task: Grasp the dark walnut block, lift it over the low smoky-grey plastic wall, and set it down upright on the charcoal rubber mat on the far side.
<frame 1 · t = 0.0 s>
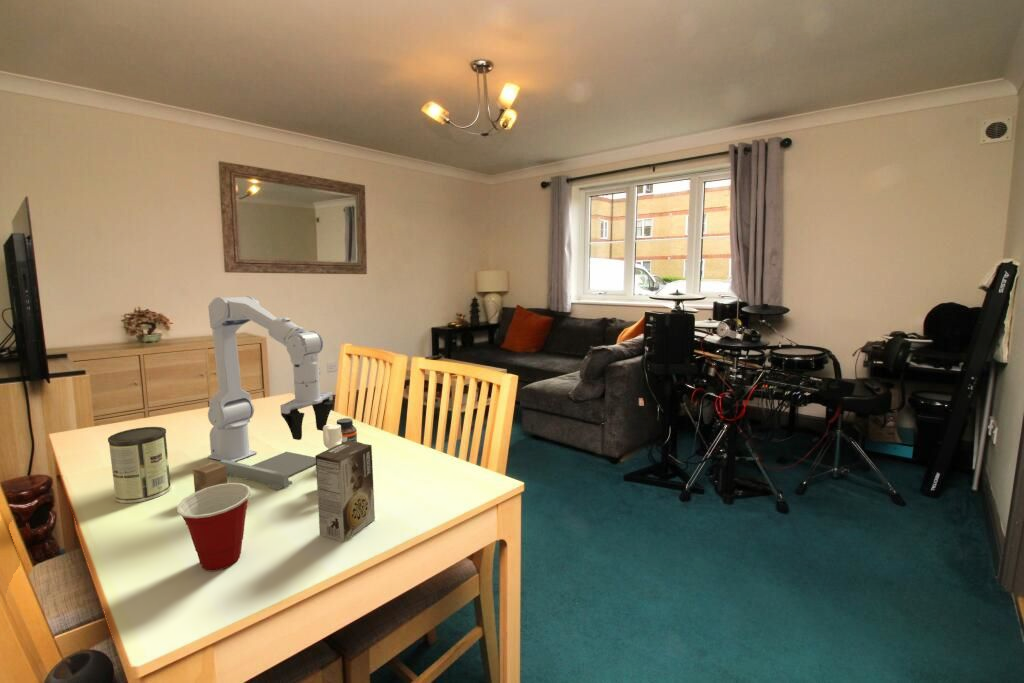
hand: (309, 434, 119), 10 cm above the table, tool pointing down, fingers open, 7 cm apart
low wall: (253, 479, 117), on the table
walnut block: (212, 497, 107), on the table
plastic cup: (220, 563, 83), on the table
coffee box: (347, 528, 95), on the table
supplement bottle: (346, 461, 129), on the table
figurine: (336, 488, 112), on the table
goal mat: (287, 464, 126), on the table
coffee can: (143, 494, 109), on the table
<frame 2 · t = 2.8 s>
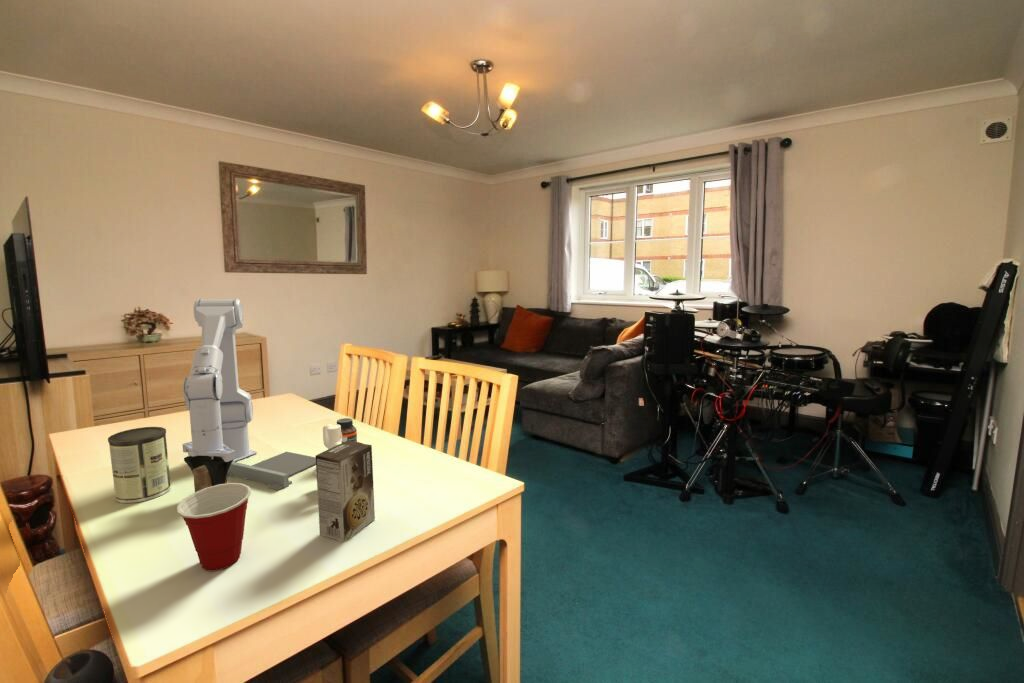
hand: (211, 486, 107), 2 cm above the table, tool pointing down, fingers closed on walnut block, 4 cm apart
walnut block: (212, 497, 107), on the table, touching gripper
everything else where it was.
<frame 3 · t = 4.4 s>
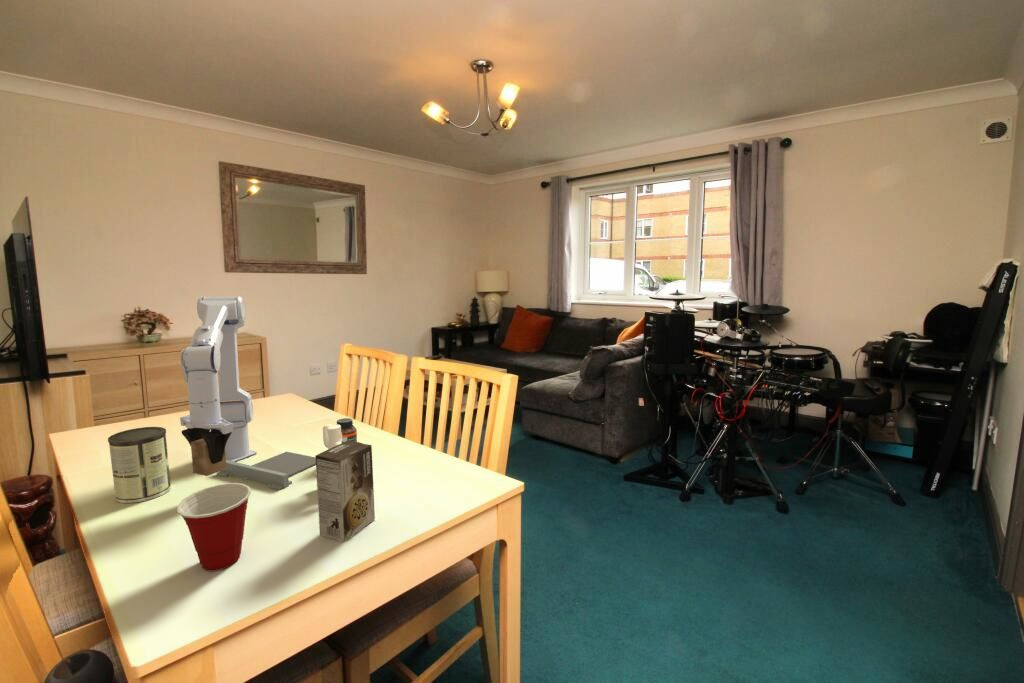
hand: (209, 460, 106), 9 cm above the table, tool pointing down, fingers closed on walnut block, 4 cm apart
walnut block: (210, 470, 107), point 6 cm above the table, touching gripper
everything else where it was.
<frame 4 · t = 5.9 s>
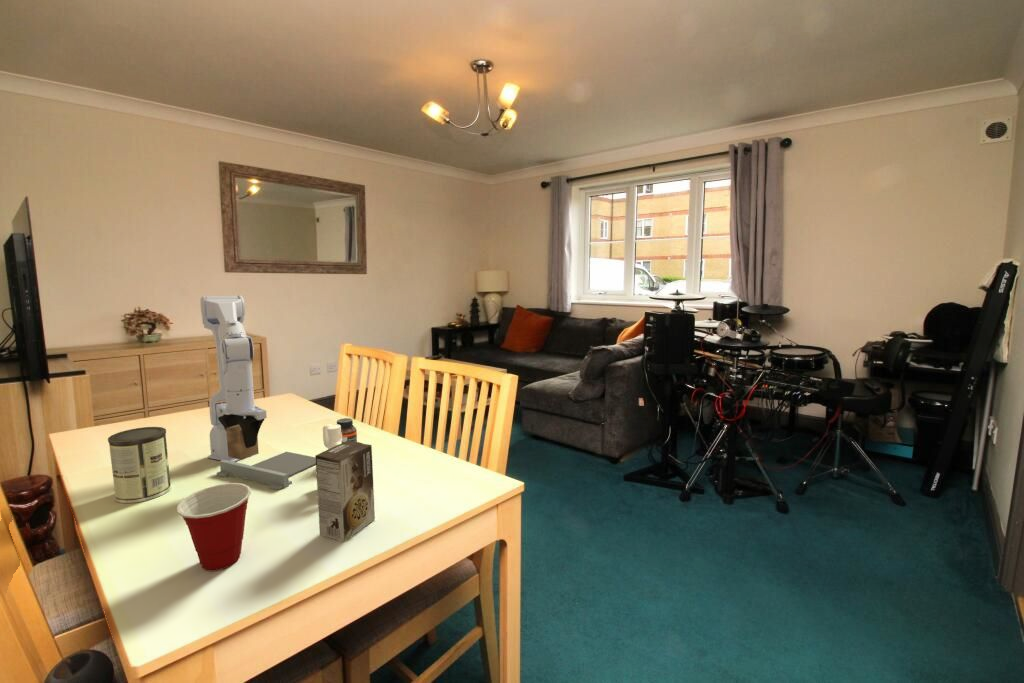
hand: (243, 444, 114), 9 cm above the table, tool pointing down, fingers closed on walnut block, 4 cm apart
walnut block: (243, 455, 114), point 7 cm above the table, touching gripper
everything else where it was.
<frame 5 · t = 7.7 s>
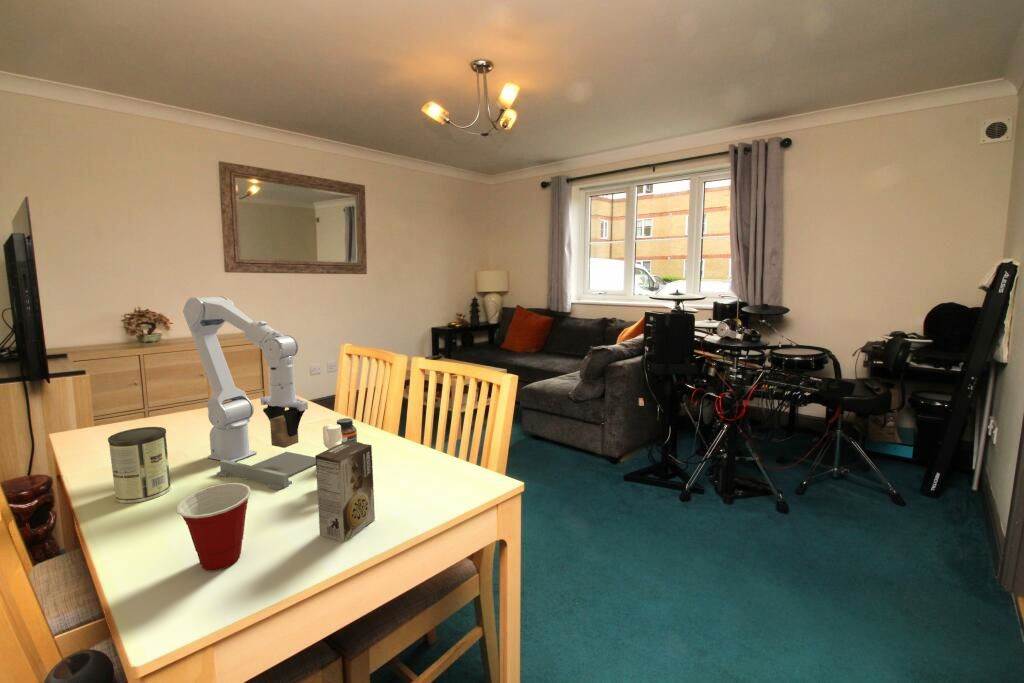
hand: (285, 434, 125), 8 cm above the table, tool pointing down, fingers closed on walnut block, 4 cm apart
walnut block: (285, 443, 125), point 6 cm above the table, touching gripper
everything else where it was.
when the fingers open (4 cm above the table, at t = 9.4 s): walnut block drops 1 cm, resting on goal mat.
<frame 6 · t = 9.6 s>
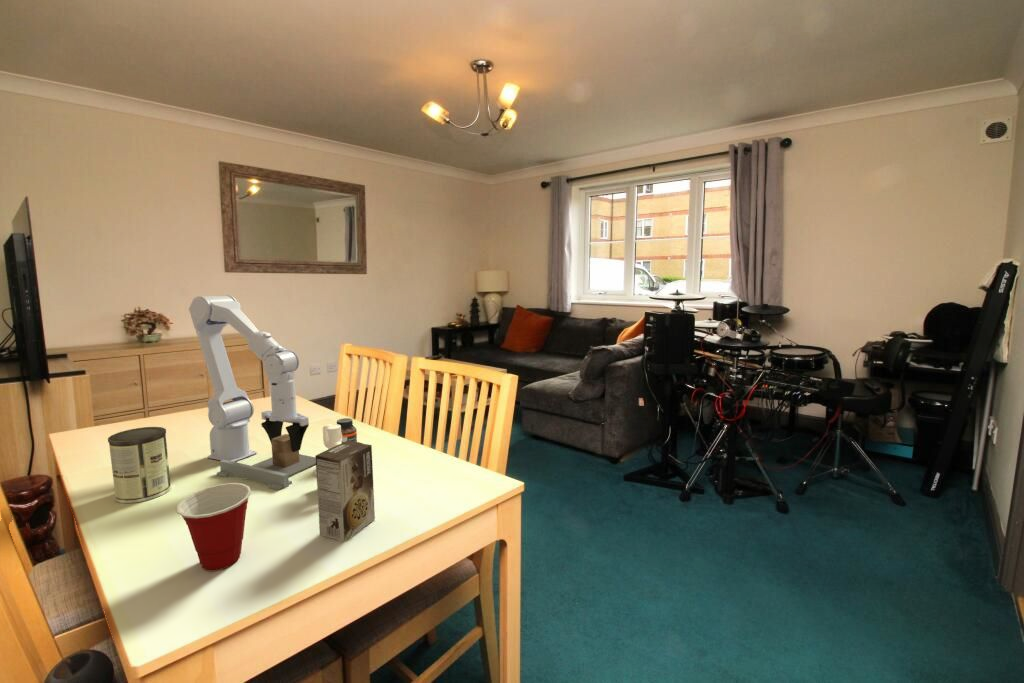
hand: (286, 448, 125), 4 cm above the table, tool pointing down, fingers open, 6 cm apart
walnut block: (286, 463, 126), resting on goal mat
everything else where it was.
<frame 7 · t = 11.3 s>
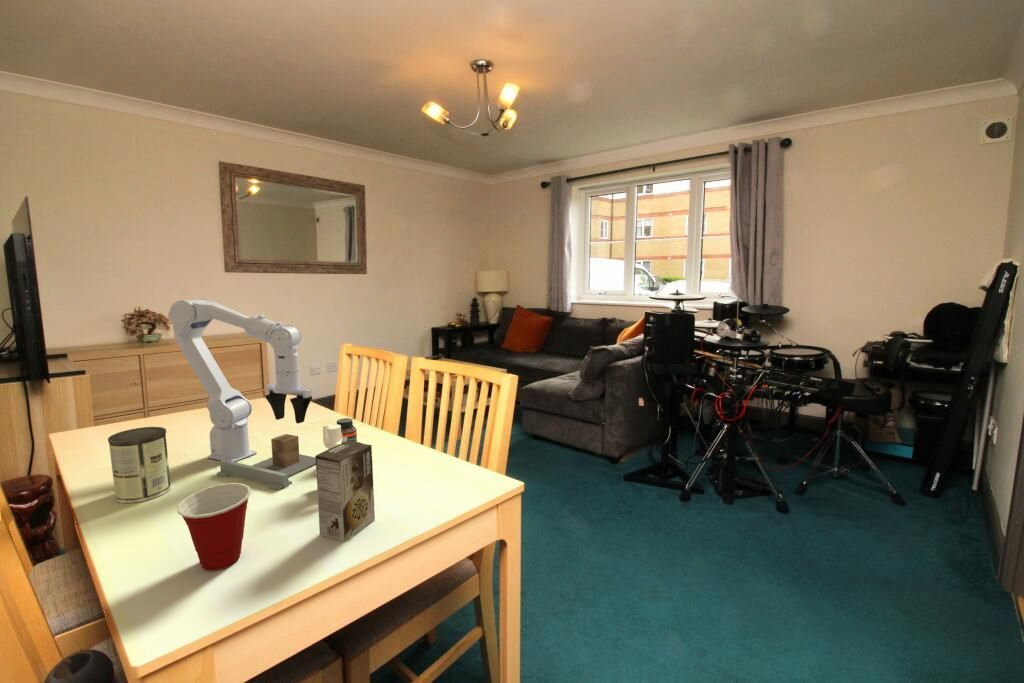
hand: (290, 420, 130), 10 cm above the table, tool pointing down, fingers open, 7 cm apart
nothing on the table moved.
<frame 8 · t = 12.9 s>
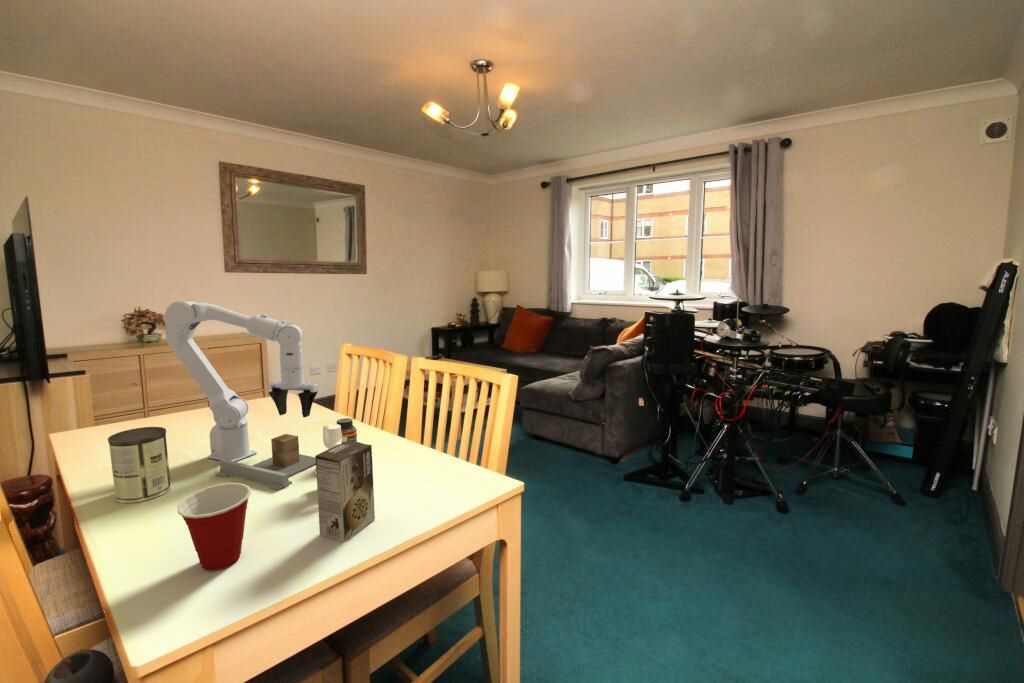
hand: (294, 415, 135), 10 cm above the table, tool pointing down, fingers open, 7 cm apart
nothing on the table moved.
at the end: walnut block inside the target area on the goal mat (0.3 cm from its centre), point 0.5 cm above the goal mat's base; walnut block tilted 0°; the gripper is holding nothing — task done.
